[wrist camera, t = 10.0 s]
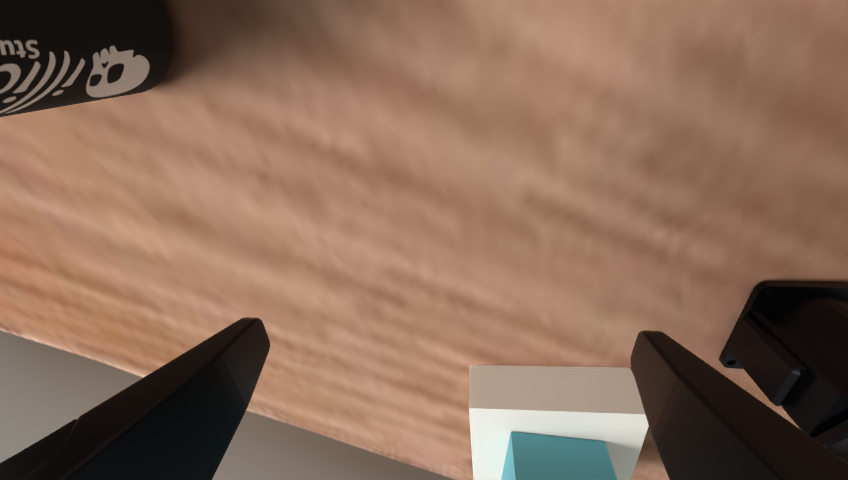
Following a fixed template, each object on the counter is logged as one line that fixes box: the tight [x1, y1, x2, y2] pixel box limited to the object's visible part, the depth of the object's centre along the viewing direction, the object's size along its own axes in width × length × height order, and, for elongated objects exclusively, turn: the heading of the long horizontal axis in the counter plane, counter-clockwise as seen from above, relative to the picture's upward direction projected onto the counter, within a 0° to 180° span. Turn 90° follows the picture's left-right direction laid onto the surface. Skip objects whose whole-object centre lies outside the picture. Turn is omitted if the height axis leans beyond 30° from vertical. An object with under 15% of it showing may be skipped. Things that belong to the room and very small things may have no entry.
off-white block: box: [469, 365, 649, 480], centre depth 27 cm, size 11×11×4 cm
